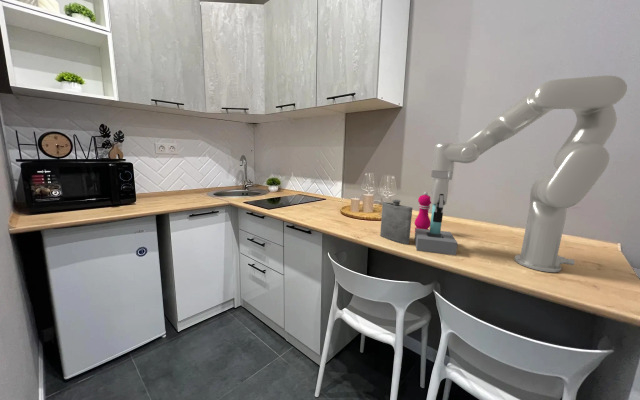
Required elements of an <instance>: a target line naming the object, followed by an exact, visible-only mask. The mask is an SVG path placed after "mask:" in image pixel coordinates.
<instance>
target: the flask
mask: <svg viewBox="0 0 640 400" xmlns="http://www.w3.org/2000/svg"><path fill="white" fill-rule="evenodd" d="M400 203H401V199H392V201H391V202H388V201H382V206H381V217H380V218H381V221H380V234H379V235H380V237H381V238H383V239H386V240H388V241H392V242H395V243H398V244H401V245H407V246H408V245H410V240H411V225H412V218H413V215H412V214H413V207H412V206H406V205H401V204H400Z"/></svg>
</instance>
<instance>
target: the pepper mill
mask: <svg viewBox="0 0 640 400" xmlns="http://www.w3.org/2000/svg"><path fill="white" fill-rule="evenodd" d="M430 196H431V195H428V191H424V192H423V195H422V194H421V195H420V196H419V197H418V198H417V199H418V201H417V202H418V208H419V210H418V214H417V216H416V218H415V220H414V226H415V228H417V229H426V230H430V223H431V218H430V215H429V209H430V208H431V204H432V203H431V201H430Z"/></svg>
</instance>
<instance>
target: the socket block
mask: <svg viewBox="0 0 640 400" xmlns="http://www.w3.org/2000/svg"><path fill="white" fill-rule="evenodd" d="M413 238H414V243H415V249H416V251H419V252H424V253H434V254H443V255H449V256H456V255H457V249H458V242H457V240H456V238H455V236H453V234H452V232H450V231H444V230H441V231H440V234H432V233H430V229H429V230H426V229H417V228H416V227H414V237H413Z"/></svg>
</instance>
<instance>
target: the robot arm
mask: <svg viewBox="0 0 640 400" xmlns="http://www.w3.org/2000/svg"><path fill="white" fill-rule="evenodd" d="M627 91H628V85H627V83H626V81H625V80H624V79H623V78H621V77H619V76H616V75H595V76H587V77H586V76H584V77H573V78H571V77H570V78H559V79H552V80H548V81H545V82H543V83H541V84H540V85H539V86H537V87H536V88H535V89H533V90H532V91H530V92H529V93H528V94H526V95H525V96H523V97H522V98H521V99H519V100H518V101H517V102H515V103H514V104H513V105H512V106H510V107H509V108H507V109H505V110H504V111H503V112H502V113H500V114H499V115H498V116H496V117H495V118H494V119H493V120H491V121H490V123H488V124H487V125H486V126H484V128H482V129H481V130H480V131H479V132H478V133H477V132H476V133H475V135H473V136H472V137H470V138H469V139H468V140H466V141H465V142H462V143H461V142H460V143H452V142H451V143H450V142H438V143H436V144H435V145H434V147H433V157H432V164H431V174H430V175H431V176H430V179H431V180H432V183H431V189H430V195H429V196H430V201H431V204H432V206H433V205H434V204H435V212H434V216H433V222H440V223H441V222H442V223H443V216H444V206H447V201H448V194H449V184H450V183H449V181H452V180H453V174H454V167H455V163H461V164H471V163H475V162H476V161H477V160H478V159H479V157H480V156H481V155H482V154H484V153H485V152H487V151H488V150H490V149H491V148H494V147H495V146H496V145H498V144H500V143H502V142H504V141H506V140H508V139H510V138H513V137H514V136H515V135H517V134H518V133H520V132H521V131H523V130H524V129H526V128H527V127H528V126H530V125H532V124H533V123H534V122H536V121H537V120H538V119H540V118H542V117H544V116H545V115H546V114H548V113H550V112H551V111H552V110H572V111H573V112H574V113H575V116H576V122H575V125H574V127H573V129H572V130H571V132H570V134H569V136H568V137H567V139H566V140H565V142H564V143H563V144H562V146H561V147H560V149H559V150H558V152H557V153H556V154H555V156H554V158H553V165H554V166H553V167H555V169H556V170H555V171H554V173H553V174H548V175H543V176H540V177H539V178H537V179H536V180H535V181H534V182H533V183H532V185H531V188H530V195H529V209H528V213H527V219H526V224H525V230H524V234H523V240H522V241H523V242H522V245H521V250H520V251H521V252H520V254H516V255H514V258H513V259H514V261H515V262H516V263H517V264H519V265H521V266H524V267H526V268H529V269H532V270H535V271H541V272H544V273H545V272H546V273H559V272H561V270H562V266H561V265H569V266H570V265H571V266H574V265H576V264H575V263H576V262H575V259H572V258H566V257H565V256H561V255H559V250H560V247H561V246H560V245H561V241H562V237H563V232H564V228H565V223H566V220H567V219H566V217H567V209H569V208H571V207H574V206H576V205H577V204H579V203H581V201H582V200H583V199H585V197H586V196H587V195H588V193H589V192H590V190H592V188H593V187H594V185H595V184H596V182H597V181H598V180H599V179H600V178H601V176H603V174H604V172H605V171H606V169H607V167H608V165H609V162H610V154H609V151H608V150H607V148H605V147H604V146H605V144H606V143H607V141H608V139H609V138H610V136H612V133H613V132H614V129H615V127H616V125H617V119H618V118H617V112H616V110H615V109H616V108H615V107H614V105H615V104H617V103H618V102H620V101H621V100H622V99H623V98H624V97H625V96H626V93H627ZM437 203H439V204H437ZM443 205H444V206H443ZM437 206H439V207H437ZM442 223H441V224H442Z"/></svg>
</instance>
